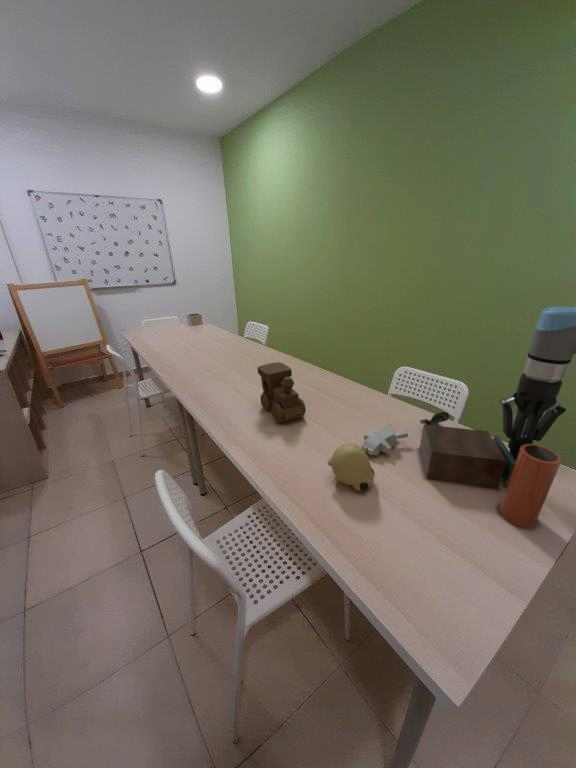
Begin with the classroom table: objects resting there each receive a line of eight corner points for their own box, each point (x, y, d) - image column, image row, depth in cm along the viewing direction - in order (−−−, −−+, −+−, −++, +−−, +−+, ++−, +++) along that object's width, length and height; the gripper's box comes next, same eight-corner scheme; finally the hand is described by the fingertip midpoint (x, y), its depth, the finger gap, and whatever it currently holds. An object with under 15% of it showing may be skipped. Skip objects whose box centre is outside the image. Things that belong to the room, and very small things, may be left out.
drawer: (497, 457, 85) (503, 436, 82) (515, 487, 74) (524, 465, 72) (434, 449, 89) (438, 429, 87) (442, 476, 78) (447, 455, 76)
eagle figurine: (445, 437, 94) (454, 421, 99) (434, 418, 93) (444, 404, 99) (423, 440, 100) (432, 425, 106) (413, 422, 99) (423, 408, 105)
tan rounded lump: (343, 502, 77) (376, 494, 70) (316, 463, 77) (345, 451, 70) (358, 479, 84) (389, 469, 77) (333, 444, 84) (362, 431, 77)
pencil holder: (527, 507, 70) (551, 445, 63) (541, 530, 64) (569, 465, 57) (495, 502, 71) (515, 441, 64) (505, 524, 65) (529, 460, 59)
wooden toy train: (257, 405, 120) (254, 366, 113) (282, 398, 125) (281, 360, 118) (280, 428, 104) (279, 384, 97) (308, 419, 108) (308, 377, 102)
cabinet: (480, 456, 87) (487, 431, 84) (497, 489, 75) (506, 461, 72) (419, 448, 91) (423, 424, 88) (426, 478, 79) (431, 451, 76)
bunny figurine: (354, 436, 91) (386, 416, 98) (354, 450, 93) (385, 429, 100) (380, 451, 84) (412, 428, 91) (379, 465, 86) (411, 442, 93)
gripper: (566, 372, 70) (535, 455, 80) (503, 368, 74) (480, 448, 83) (586, 385, 64) (549, 473, 73) (516, 380, 67) (489, 465, 76)
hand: (513, 460), depth 78 cm, fingers closed
